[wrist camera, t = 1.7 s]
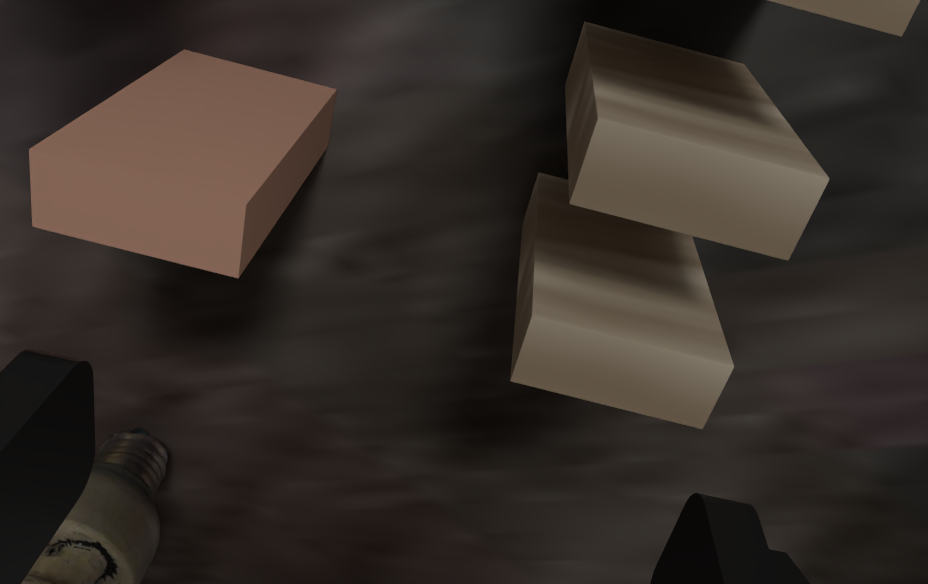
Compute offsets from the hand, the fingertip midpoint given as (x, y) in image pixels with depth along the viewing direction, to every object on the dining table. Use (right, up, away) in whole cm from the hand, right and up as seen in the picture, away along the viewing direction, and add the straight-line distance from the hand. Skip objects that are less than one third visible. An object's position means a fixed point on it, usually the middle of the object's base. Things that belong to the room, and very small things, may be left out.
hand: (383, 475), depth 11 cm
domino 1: (+7, +9, +14) cm, 18 cm away
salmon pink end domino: (-6, +9, +16) cm, 19 cm away
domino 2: (+6, +5, +17) cm, 18 cm away
